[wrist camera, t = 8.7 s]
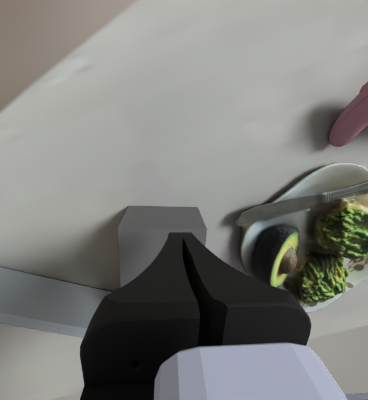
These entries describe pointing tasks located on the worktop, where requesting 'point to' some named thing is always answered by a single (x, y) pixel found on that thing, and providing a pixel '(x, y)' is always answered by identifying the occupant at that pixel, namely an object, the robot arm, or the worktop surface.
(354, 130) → the video game controller
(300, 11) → the worktop surface
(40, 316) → the side door
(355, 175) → the salad plate
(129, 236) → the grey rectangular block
